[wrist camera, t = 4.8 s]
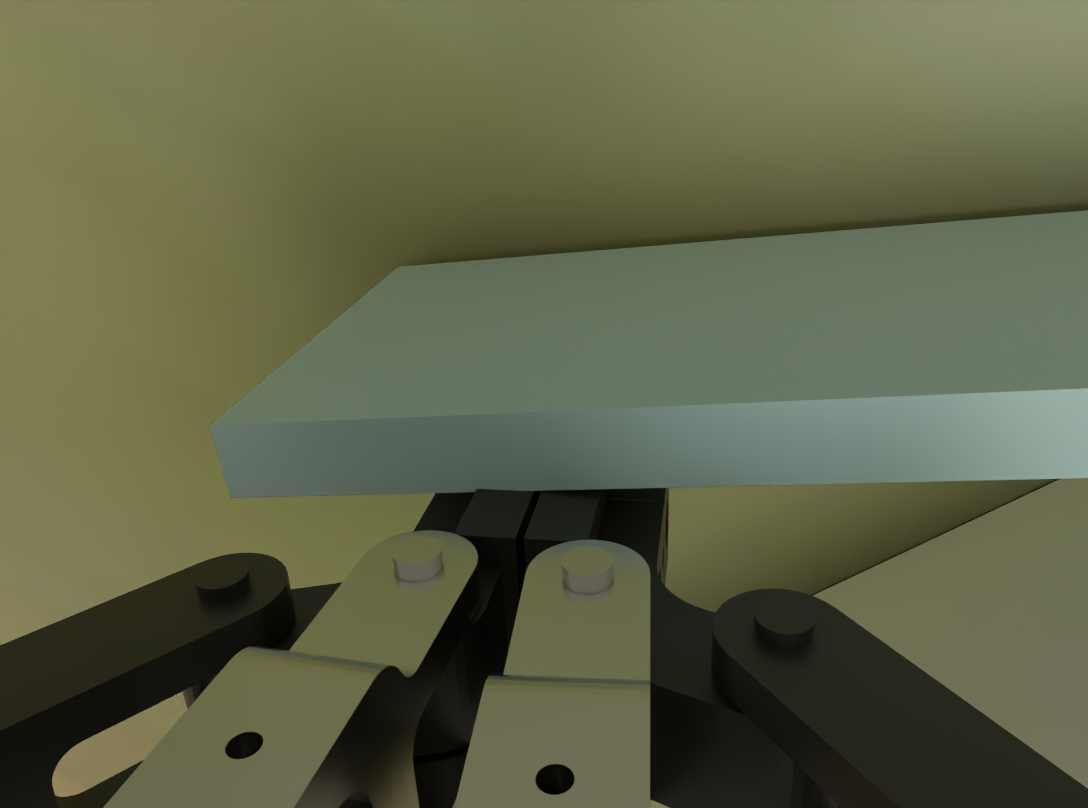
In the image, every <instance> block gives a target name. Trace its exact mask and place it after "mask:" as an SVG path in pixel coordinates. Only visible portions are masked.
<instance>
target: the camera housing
mask: <svg viewBox="0 0 1088 808" xmlns="http://www.w3.org/2000/svg"><path fill="white" fill-rule="evenodd" d="M813 596H814V597H817V598H819V599H821V600H823V601H825V602H827V603H829V604H830V605H832V606H833V607H835V608H837V609H838V610H839V611H841V612H842V613H844V614H845V615H846V616H848V617H849V618H851V619H852V620H853V621H855V622H856V623H858V624H859V625H860V626H862V627H863V628H865V629H866V630H867V631H869V632H870V633H871V634H873V635H874V636H876V637H877V638H878V639H880V640H881V641H883V642H884V643H885V644H887V645H888V646H890V647H891V648H892V649H894V650H895V651H897V652H898V653H899V654H901V655H902V656H904V657H905V658H906V659H908V660H909V661H911V662H912V663H913V664H915V665H916V666H918V667H919V668H920V669H922V670H923V671H925V672H926V673H927V674H929V675H930V676H931V677H933V678H934V679H936V680H937V681H938V682H940V683H941V684H943V685H944V686H945V687H947V688H948V689H950V690H951V691H952V692H954V693H955V694H957V695H958V696H959V697H961V698H962V699H964V700H965V701H966V702H968V703H969V704H971V705H972V706H973V707H975V708H976V709H978V710H979V711H980V712H982V713H983V714H985V715H986V716H987V717H989V718H990V719H991V720H993V721H994V722H996V723H997V724H998V725H1000V726H1001V727H1003V728H1004V729H1005V730H1007V731H1008V732H1010V733H1011V734H1012V735H1014V736H1015V737H1017V738H1018V739H1019V740H1021V741H1022V742H1024V743H1025V744H1026V745H1028V746H1029V747H1031V748H1032V749H1033V750H1035V751H1036V752H1038V753H1039V754H1040V755H1042V756H1043V757H1045V758H1046V759H1047V760H1049V761H1050V762H1052V763H1053V764H1054V765H1056V766H1057V767H1058V768H1060V769H1061V770H1063V771H1064V772H1065V773H1067V774H1068V775H1070V776H1071V777H1072V778H1074V779H1075V780H1077V781H1078V782H1079V783H1081V784H1082V785H1084V786H1085V787H1086V788H1088V478H1068V479H1059V480H1057V481H1055V482H1053V483H1051V484H1048V485H1046V486H1044V487H1042V488H1040V489H1038V490H1036V491H1034V492H1031V493H1029V494H1027V495H1025V496H1023V497H1021V498H1019V499H1017V500H1014V501H1012V502H1010V503H1008V504H1006V505H1004V506H1002V507H1000V508H997V509H995V510H993V511H991V512H989V513H987V514H985V515H983V516H981V517H978V518H976V519H974V520H972V521H970V522H968V523H966V524H964V525H961V526H959V527H957V528H955V529H953V530H951V531H949V532H947V533H944V534H942V535H940V536H938V537H936V538H934V539H932V540H930V541H927V542H925V543H923V544H921V545H919V546H917V547H915V548H913V549H910V550H908V551H906V552H904V553H902V554H900V555H898V556H896V557H893V558H891V559H889V560H887V561H885V562H883V563H881V564H879V565H876V566H874V567H872V568H870V569H868V570H866V571H864V572H862V573H860V574H857V575H855V576H853V577H851V578H849V579H847V580H845V581H843V582H840V583H838V584H836V585H834V586H832V587H830V588H828V589H826V590H823V591H821V592H819V593H817V594H815V595H813ZM650 808H669V807H667V806H665V805H662V804H660V803H657V802H655V801H652V800H650Z"/></svg>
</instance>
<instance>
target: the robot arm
mask: <svg viewBox="0 0 1088 808" xmlns="http://www.w3.org/2000/svg"><path fill="white" fill-rule="evenodd" d="M668 503H669V488H633V489H589V490H545V491H516V490H495V489H476V491H475V492H458V493H436V494H435V496H434V497H433V499H432V501H431V502H430V504H429V506H428V508H427V509H426V511H425V513H424V514H423V516H422V518H421V519H420V521H419V523H418V524H417V526H416V528H415V530H414V531H413V532H409V533H404V534H400V535H397V536H394V537H391V538H389V539H386V540H384V541H382V542H380V543H379V544H377V545H375V546H374V547H372V548H371V549H370V550H369V551H367V553H366V554H365V555H364V556H363V557H362V558H361V559H360V561H359V562H358V563H357V565H356V566H355V567H354V568H353V570H352V571H351V572H350V573H349V575H348V576H347V577H346V579H345V580H344V581H343V582H341V583H336V584H329V585H322V586H314V587H307V588H299V589H292V590H291V588H290V583H289V578H288V573H287V570H286V567H285V566H284V565H283V564H282V562H280V561H279V560H277V559H276V558H273V557H271V556H268V555H264V554H258V553H237V554H229V555H224V556H219V557H216V558H212V559H209V560H206V561H203V562H201V563H198V564H196V565H193V566H191V567H189V568H186V569H184V570H181V571H179V572H176V573H174V574H172V575H169V576H167V577H164V578H162V579H160V580H157V581H155V582H152V583H150V584H148V585H145V586H143V587H140V588H138V589H136V590H133V591H131V592H128V593H126V594H123V595H121V596H119V597H116V598H114V599H111V600H109V601H107V602H104V603H102V604H99V605H97V606H95V607H92V608H90V609H87V610H85V611H82V612H80V613H78V614H75V615H73V616H70V617H68V618H66V619H63V620H61V621H58V622H56V623H54V624H51V625H49V626H46V627H44V628H41V629H39V630H37V631H34V632H32V633H29V634H27V635H25V636H22V637H20V638H17V639H15V640H13V641H10V642H8V643H5V644H3V645H1V646H0V808H650V800H652V801H655V802H657V803H660V804H662V805H665V806H667V807H669V808H1088V788H1086V787H1085V786H1084V785H1082V784H1081V783H1079V782H1078V781H1077V780H1075V779H1074V778H1072V777H1071V776H1070V775H1068V774H1067V773H1065V772H1064V771H1063V770H1061V769H1060V768H1058V767H1057V766H1056V765H1054V764H1053V763H1052V762H1050V761H1049V760H1047V759H1046V758H1045V757H1043V756H1042V755H1040V754H1039V753H1038V752H1036V751H1035V750H1033V749H1032V748H1031V747H1029V746H1028V745H1026V744H1025V743H1024V742H1022V741H1021V740H1019V739H1018V738H1017V737H1015V736H1014V735H1012V734H1011V733H1010V732H1008V731H1007V730H1005V729H1004V728H1003V727H1001V726H1000V725H998V724H997V723H996V722H994V721H993V720H991V719H990V718H989V717H987V716H986V715H985V714H983V713H982V712H980V711H979V710H978V709H976V708H975V707H973V706H972V705H971V704H969V703H968V702H966V701H965V700H964V699H962V698H961V697H959V696H958V695H957V694H955V693H954V692H952V691H951V690H950V689H948V688H947V687H945V686H944V685H943V684H941V683H940V682H938V681H937V680H936V679H934V678H933V677H931V676H930V675H929V674H927V673H926V672H925V671H923V670H922V669H920V668H919V667H918V666H916V665H915V664H913V663H912V662H911V661H909V660H908V659H906V658H905V657H904V656H902V655H901V654H899V653H898V652H897V651H895V650H894V649H892V648H891V647H890V646H888V645H887V644H885V643H884V642H883V641H881V640H880V639H878V638H877V637H876V636H874V635H873V634H871V633H870V632H869V631H867V630H866V629H865V628H863V627H862V626H860V625H859V624H858V623H856V622H855V621H853V620H852V619H851V618H849V617H848V616H846V615H845V614H844V613H842V612H841V611H839V610H838V609H837V608H835V607H833V606H832V605H830V604H829V603H827V602H825V601H823V600H821V599H819V598H817V597H814V596H811V595H808V594H805V593H801V592H796V591H791V590H784V589H760V590H754V591H748V592H745V593H742V594H739V595H737V596H735V597H732V598H730V599H729V600H728V601H726V602H725V603H723V604H722V605H721V607H720V608H719V609H718V610H717V612H716V613H714V612H711V611H707V610H704V609H701V608H698V607H695V606H693V605H691V604H689V603H687V602H684V601H683V600H681V599H680V598H678V597H676V596H675V595H674V594H673V593H671V592H670V591H669V590H668V589H667V588H666V587H665V577H666V570H667V560H668ZM182 691H183V694H184V698H185V702H186V705H187V709H188V710H187V711H186V712H185V713H184V714H183V715H182V717H181V718H180V719H179V720H178V721H177V722H176V724H175V725H174V726H173V727H172V728H171V729H170V731H169V732H168V733H167V734H166V735H165V736H164V737H163V739H162V740H161V741H160V742H159V743H158V744H157V746H156V747H155V748H154V749H153V750H152V751H151V753H150V754H149V755H148V756H147V757H146V758H145V760H143V761H141V762H139V763H137V764H135V765H133V766H131V767H130V768H128V769H126V770H124V771H122V772H120V773H118V774H116V775H114V776H113V777H111V778H109V779H107V780H105V781H103V782H101V783H99V784H97V785H96V786H94V787H92V788H90V789H88V790H86V791H84V792H82V793H80V794H77V795H74V796H68V797H58V796H55V794H54V791H53V787H52V776H53V772H54V770H55V768H56V766H57V764H58V762H59V761H60V759H61V758H62V757H63V756H64V755H65V754H66V753H67V752H68V751H69V750H70V749H71V748H72V747H74V746H75V745H76V744H78V743H80V742H82V741H83V740H85V739H87V738H89V737H91V736H93V735H95V734H97V733H99V732H101V731H103V730H105V729H107V728H110V727H112V726H114V725H116V724H118V723H120V722H122V721H124V720H126V719H128V718H130V717H132V716H134V715H136V714H138V713H140V712H142V711H144V710H146V709H148V708H150V707H152V706H154V705H156V704H158V703H160V702H162V701H164V700H166V699H168V698H170V697H172V696H174V695H176V694H178V693H180V692H182Z"/></svg>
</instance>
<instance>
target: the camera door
mask: <svg viewBox="0 0 1088 808" xmlns="http://www.w3.org/2000/svg"><path fill="white" fill-rule="evenodd" d="M209 427H210V431H211V434H212V437H213V440H214V444H215V447H216V450H217V453H218V457H219V460H220V463H221V466H222V470H223V473H224V476H225V479H226V483H227V486H228V489H229V492H230V496H231V498H240V497H284V496H328V495H371V494H415V493H458V492H475V491H476V489H495V490H516V491H545V490H589V489H633V488H676V487H720V486H763V485H807V484H851V483H894V482H938V481H981V480H1025V479H1068V478H1088V210H1085V211H1073V212H1061V213H1049V214H1037V215H1024V216H1012V217H1000V218H988V219H976V220H963V221H951V222H939V223H927V224H914V225H902V226H890V227H878V228H866V229H853V230H841V231H829V232H817V233H804V234H792V235H780V236H768V237H756V238H743V239H731V240H719V241H707V242H694V243H682V244H670V245H658V246H646V247H633V248H621V249H609V250H597V251H585V252H572V253H560V254H548V255H536V256H523V257H511V258H499V259H487V260H475V261H462V262H450V263H438V264H426V265H413V266H401V267H397V268H396V269H395V270H394V271H393V272H391V273H390V274H389V275H388V276H387V277H385V278H384V279H383V280H382V281H381V282H379V283H378V284H377V285H376V286H375V287H374V288H372V289H371V290H370V291H369V292H368V293H366V294H365V295H364V296H363V297H362V298H360V299H359V300H358V301H357V302H356V303H355V304H353V305H352V306H351V307H350V308H349V309H347V310H346V311H345V312H344V313H343V314H341V315H340V316H339V317H338V318H337V319H335V320H334V321H333V322H332V323H331V324H330V325H328V326H327V327H326V328H325V329H324V330H322V331H321V332H320V333H319V334H318V335H316V336H315V337H314V338H313V339H312V340H311V341H309V342H308V343H307V344H306V345H305V346H303V347H302V348H301V349H300V350H299V351H297V352H296V353H295V354H294V355H293V356H292V357H290V358H289V359H288V360H287V361H286V362H284V363H283V364H282V365H281V366H280V367H278V368H277V369H276V370H275V371H274V372H272V373H271V374H270V375H269V376H268V377H267V378H265V379H264V380H263V381H262V382H261V383H259V384H258V385H257V386H256V387H255V388H253V389H252V390H251V391H250V392H249V393H248V394H246V395H245V396H244V397H243V398H242V399H240V400H239V401H238V402H237V403H236V404H234V405H233V406H232V407H231V408H230V409H228V410H227V411H226V412H225V413H224V414H223V415H221V416H220V417H219V418H218V419H217V420H215V421H214V422H213V423H212V424H211V425H209Z"/></svg>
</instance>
